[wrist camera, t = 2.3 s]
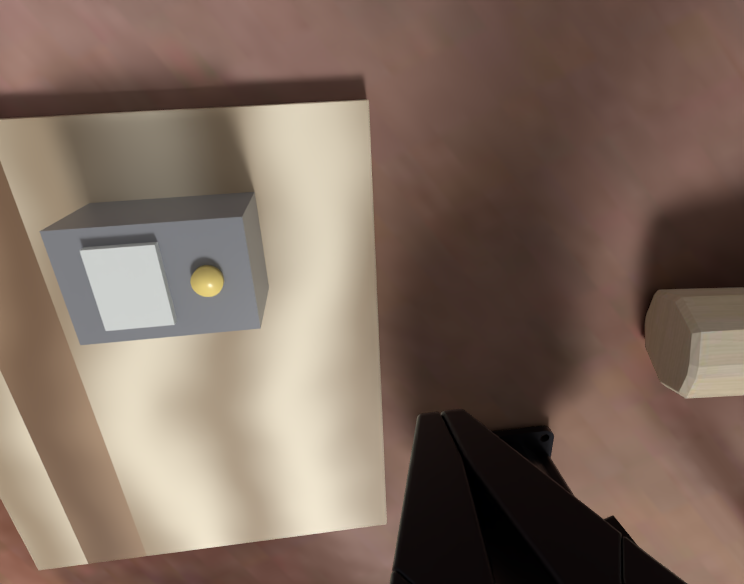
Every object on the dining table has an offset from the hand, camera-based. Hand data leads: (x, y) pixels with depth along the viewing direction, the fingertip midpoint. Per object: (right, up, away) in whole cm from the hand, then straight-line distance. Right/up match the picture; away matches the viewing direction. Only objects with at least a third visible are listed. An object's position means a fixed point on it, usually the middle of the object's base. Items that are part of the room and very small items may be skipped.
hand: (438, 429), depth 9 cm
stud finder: (-9, +4, +10) cm, 14 cm away
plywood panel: (-10, -1, +13) cm, 16 cm away
